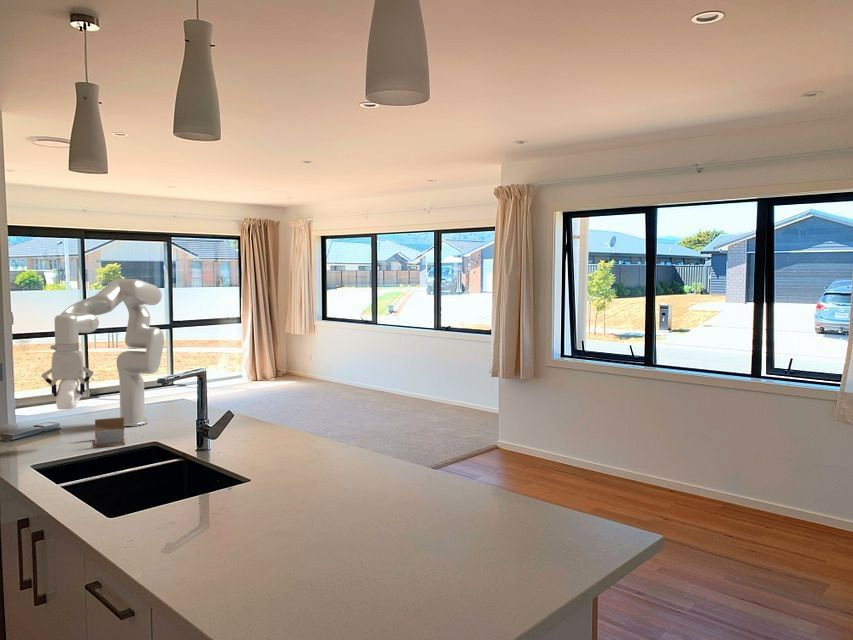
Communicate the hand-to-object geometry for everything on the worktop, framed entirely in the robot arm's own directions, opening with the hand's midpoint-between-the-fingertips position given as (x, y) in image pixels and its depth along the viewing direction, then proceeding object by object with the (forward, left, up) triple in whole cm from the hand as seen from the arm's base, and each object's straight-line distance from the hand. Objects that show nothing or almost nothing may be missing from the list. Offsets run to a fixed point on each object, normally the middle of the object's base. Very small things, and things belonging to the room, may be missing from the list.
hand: (68, 394), depth 230 cm
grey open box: (-1, +13, -20) cm, 24 cm away
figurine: (0, 0, -5) cm, 5 cm away
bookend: (+4, +13, -19) cm, 23 cm away
